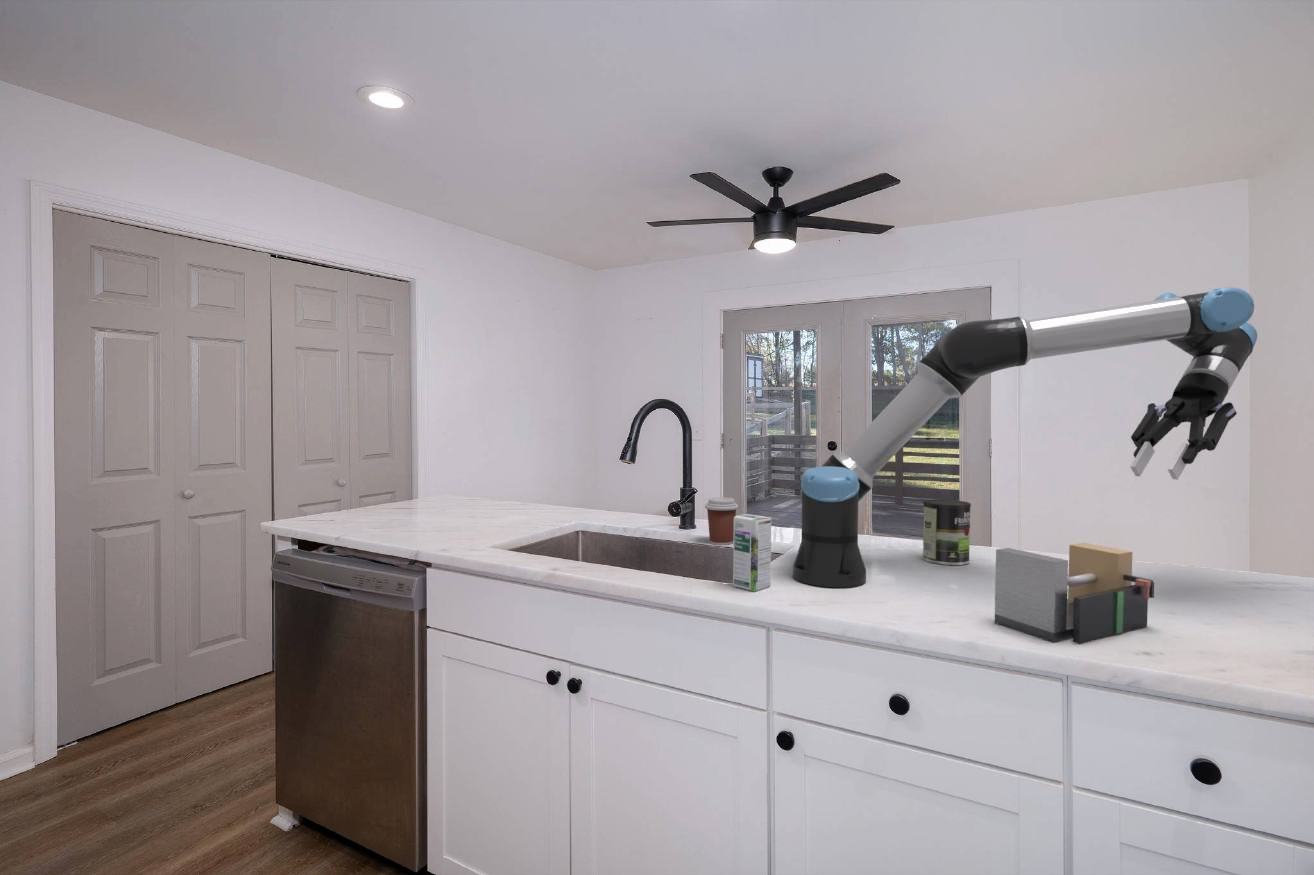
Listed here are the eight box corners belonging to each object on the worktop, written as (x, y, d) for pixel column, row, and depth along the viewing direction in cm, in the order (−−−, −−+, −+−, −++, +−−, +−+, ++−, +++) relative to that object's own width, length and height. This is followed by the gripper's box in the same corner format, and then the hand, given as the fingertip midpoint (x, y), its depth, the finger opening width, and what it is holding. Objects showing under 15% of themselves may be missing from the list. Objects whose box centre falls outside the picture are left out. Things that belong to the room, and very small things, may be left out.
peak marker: (1138, 595, 102) (1139, 578, 102) (1150, 598, 101) (1150, 581, 101) (1135, 596, 102) (1135, 579, 102) (1146, 599, 100) (1147, 582, 100)
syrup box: (731, 586, 127) (732, 516, 126) (749, 581, 131) (749, 512, 130) (754, 592, 123) (754, 519, 122) (772, 586, 127) (772, 516, 126)
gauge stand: (1076, 605, 114) (1077, 538, 114) (1152, 626, 103) (1154, 551, 102) (994, 622, 105) (996, 549, 104) (1069, 647, 94) (1071, 565, 93)
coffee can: (978, 561, 148) (979, 502, 147) (955, 568, 142) (956, 506, 141) (936, 553, 156) (937, 497, 155) (913, 559, 150) (914, 501, 149)
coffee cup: (729, 547, 163) (729, 502, 163) (698, 544, 168) (698, 499, 168) (743, 541, 171) (743, 498, 170) (713, 538, 176) (714, 495, 175)
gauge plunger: (1081, 597, 113) (1083, 542, 113) (1159, 617, 102) (1161, 557, 102) (1046, 604, 109) (1047, 548, 108) (1123, 626, 98) (1124, 563, 97)
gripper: (1273, 397, 113) (1222, 492, 107) (1157, 399, 130) (1107, 481, 124) (1259, 367, 111) (1207, 462, 105) (1143, 373, 127) (1092, 455, 121)
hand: (1153, 472), depth 114 cm, fingers open, 5 cm apart
